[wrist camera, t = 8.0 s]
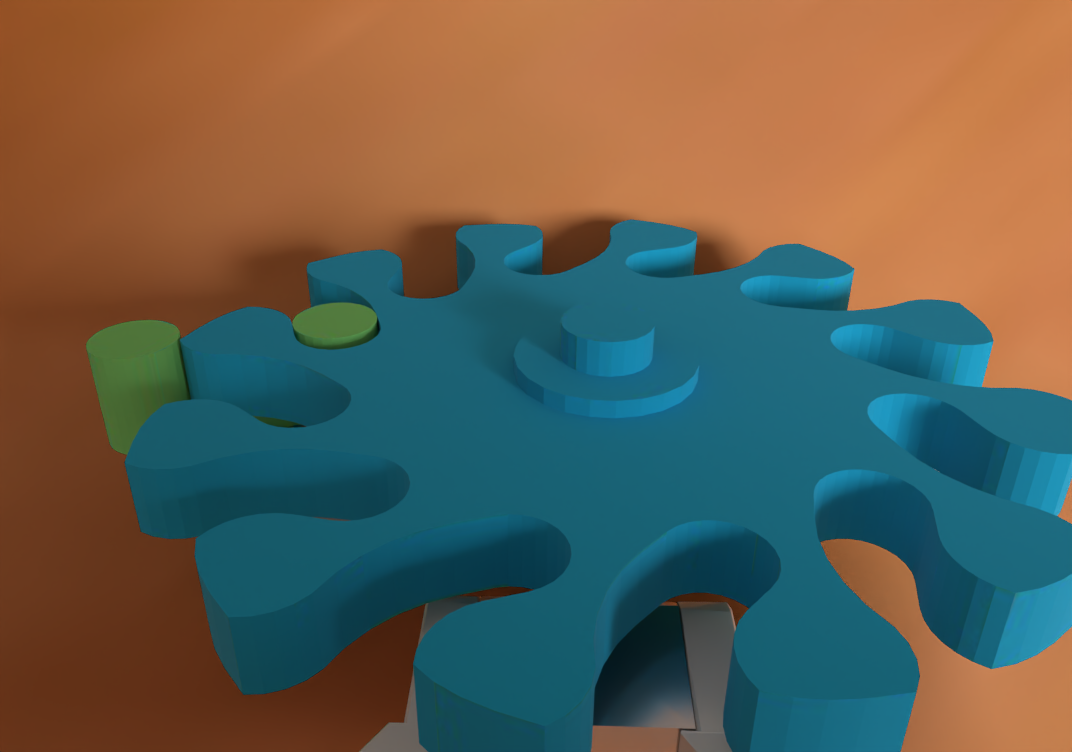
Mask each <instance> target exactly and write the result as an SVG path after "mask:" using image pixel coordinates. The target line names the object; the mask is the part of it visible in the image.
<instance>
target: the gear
mask: <svg viewBox="0 0 1072 752" xmlns="http://www.w3.org/2000/svg"><path fill="white" fill-rule="evenodd" d="M696 242H697V233H696V232H694V231H691V230H688V229H685V228H680V227H676V226H672V225H666V224H660V223H654V222H647V221H639V220H632V219H631V220H627V221H622V222H620V223H618V224H616V225H614V226H613V227H612V228H611V230H610V244H609V246H608V247H607V249H606V250H605V251H604V252H603V253H601V254H600V255H599V256H597V257H596V258H594V259H592V260H590V261H588V262H586V263H584V264H582V265H580V266H577V267H575V268H572V269H570V270H568V271H565V272H562V273H558V274H552V275H542V255H543V234H542V231H541V230H540V229H539V228H538V227H536V226H531V225H520V224H484V225H465V226H463V227H461V228H460V229H459V230H458V231H457V232H456V254H457V281H458V288H459V290H458V291H457V292H455V293H453V294H450V295H447V296H442V297H438V298H428V299H418V298H408V297H404V288H403V272H402V261H401V259H400V257H398V256H397V255H396V254H394V253H391V252H389V251H385V250H370V251H362V252H355V253H349V254H344V255H340V256H335V257H331V258H327V259H323V260H319V261H315V262H311V263H308V265H307V276H308V285H309V293H310V302H311V308H308V309H306V310H304V311H302V312H300V313H299V314H297V315H296V316H295V318H294V319H293V322H291V320H290V318H289V317H288V316H286V315H285V314H284V313H281V312H279V311H277V310H273V309H269V308H262V307H245V308H242V309H239V310H236V311H233V312H230V313H227V314H225V315H223V316H221V317H218V318H216V319H214V320H212V321H210V322H208V323H207V324H205V325H203V326H201V327H199V328H198V329H196V330H194V331H193V332H191V333H190V334H188V335H186V336H185V337H183V338H182V339H181V336H180V331H179V329H178V328H177V327H176V326H175V325H173V324H171V323H168V322H165V321H159V320H137V321H129V322H124V323H120V324H116V325H113V326H110V327H107V328H105V329H103V330H101V331H99V332H97V333H95V334H94V335H93V336H92V337H91V338H90V339H89V340H88V341H87V343H86V349H87V354H88V358H89V362H90V366H91V370H92V374H93V378H94V382H95V386H96V390H97V394H98V399H99V403H100V407H101V411H102V415H103V419H104V423H105V427H106V431H107V435H108V439H109V443H110V445H111V447H112V448H113V449H114V450H116V451H117V452H119V453H122V454H126V455H127V457H126V460H125V462H124V463H125V467H126V471H127V475H128V480H129V484H130V488H131V492H132V496H133V501H134V505H135V509H136V513H137V517H138V522H139V526H140V530H141V532H143V533H146V534H148V535H151V536H153V537H160V538H167V539H185V538H192V537H197V538H196V544H195V560H196V565H197V570H198V575H199V579H200V584H201V589H202V594H203V599H204V603H205V608H206V613H207V618H208V623H209V627H210V632H211V636H212V640H213V644H214V648H215V650H216V652H217V654H218V656H219V658H220V660H221V662H222V664H223V666H224V668H225V669H226V671H227V672H228V674H229V675H230V677H231V678H232V679H233V681H234V682H235V684H236V685H237V687H238V688H239V689H240V691H241V692H242V694H243V695H251V694H267V693H271V692H275V691H280V690H284V689H287V688H290V687H292V686H295V685H297V684H299V683H302V682H304V681H306V680H308V679H309V678H311V677H312V676H314V675H315V674H317V673H318V672H320V671H321V670H323V669H324V668H325V667H326V666H327V665H328V664H329V663H330V662H331V661H332V660H333V659H334V658H335V657H336V656H337V655H338V654H339V653H340V652H341V651H342V650H343V649H344V648H345V647H347V646H348V645H350V644H351V643H352V642H354V641H355V640H356V639H358V638H359V637H361V636H362V635H363V634H365V633H366V632H367V631H369V630H370V629H372V628H374V627H376V626H378V625H379V624H381V623H383V622H385V621H387V620H389V619H390V618H392V617H394V616H396V615H398V614H401V613H403V612H406V611H408V610H411V609H413V608H416V607H419V606H421V605H424V604H426V603H430V602H434V601H438V600H442V599H445V598H449V597H453V596H457V595H462V594H467V593H472V592H477V591H482V590H487V589H492V588H499V587H507V586H512V587H524V588H529V589H534V590H532V591H529V592H524V593H519V594H514V595H510V596H505V597H500V598H495V599H490V600H485V601H481V602H477V603H474V604H470V605H467V606H464V607H462V608H460V609H457V610H455V611H453V612H451V613H449V614H447V615H446V616H445V617H443V618H442V619H441V620H439V621H438V622H436V623H435V624H434V625H433V626H432V627H431V628H430V630H429V631H428V632H427V633H426V634H425V635H424V636H423V638H422V640H421V642H420V644H419V646H418V647H417V649H416V654H415V658H414V663H413V669H414V682H415V695H416V708H417V721H418V735H419V744H420V745H421V746H423V747H424V748H425V749H426V750H427V751H428V752H591V748H592V733H593V712H594V691H595V686H596V683H597V681H598V678H599V675H600V673H601V670H602V667H603V665H604V664H605V662H606V661H607V659H608V657H609V656H610V654H611V653H612V651H613V650H614V648H615V647H616V645H617V644H618V643H619V642H620V641H621V640H622V639H623V638H624V637H625V636H626V635H627V634H628V633H629V632H630V631H631V630H632V629H633V628H634V627H635V626H636V625H637V624H638V623H639V622H640V621H642V620H643V619H644V618H645V617H646V616H648V615H649V614H650V613H651V612H652V611H653V610H655V609H656V608H657V607H658V606H659V605H661V604H662V603H664V602H665V601H667V600H669V599H670V598H673V597H676V596H679V595H682V594H688V593H711V594H717V595H722V596H725V597H728V598H731V599H733V600H736V601H738V602H739V603H741V604H743V605H745V606H747V607H748V608H749V609H748V610H747V611H746V613H745V614H744V615H743V616H742V618H741V619H740V620H739V622H738V625H737V627H736V630H735V633H734V639H733V646H732V653H731V660H730V668H729V675H728V682H727V689H726V696H725V704H724V711H723V728H724V732H725V736H726V741H727V743H728V745H729V747H730V748H731V750H732V752H900V751H901V748H902V744H903V740H904V737H905V733H906V729H907V725H908V722H909V718H910V714H911V711H912V707H913V703H914V699H915V696H916V692H917V687H918V683H919V678H920V674H919V668H918V663H917V658H916V656H915V655H914V653H913V651H912V649H911V647H910V645H909V643H908V642H907V641H906V639H905V638H904V637H903V636H902V635H901V634H900V633H899V632H898V631H897V629H896V628H895V627H894V626H892V625H891V624H890V623H889V622H887V621H886V620H885V619H883V618H882V617H881V616H880V615H878V614H877V613H876V612H875V611H873V610H872V609H871V608H869V607H868V606H867V605H866V604H865V603H864V602H863V601H862V600H861V599H860V598H859V597H858V596H857V595H856V594H855V593H854V592H853V591H852V590H851V589H850V588H849V587H848V586H847V585H846V584H845V583H844V582H843V580H842V579H841V578H840V576H839V575H838V573H837V572H836V571H835V569H834V568H833V566H832V565H831V563H830V562H829V561H828V559H827V557H826V555H825V552H824V550H823V548H822V546H821V543H820V542H822V541H825V540H831V539H854V540H861V541H865V542H868V543H872V544H875V545H877V546H880V547H882V548H884V549H886V550H888V551H890V552H891V553H893V554H894V555H896V556H898V557H899V558H900V559H901V560H902V561H903V562H904V563H905V564H906V565H907V566H908V568H909V569H910V570H911V572H912V574H913V576H914V579H915V583H916V588H917V594H918V600H919V606H920V610H921V613H922V616H923V619H924V621H925V622H926V624H927V625H928V627H929V628H930V630H931V631H932V632H933V633H934V634H935V635H936V636H937V637H938V638H939V639H940V640H941V641H942V642H943V643H944V644H945V645H947V646H948V647H949V648H951V649H952V650H953V651H955V652H956V653H958V654H960V655H962V656H963V657H965V658H967V659H969V660H971V661H973V662H975V663H977V664H980V665H983V666H985V667H988V668H990V669H994V668H999V667H1004V666H1008V665H1013V664H1017V663H1019V662H1022V661H1024V660H1026V659H1028V658H1031V657H1033V656H1035V655H1037V654H1039V653H1040V652H1042V651H1043V650H1044V649H1046V648H1047V647H1049V646H1050V645H1052V644H1053V643H1055V642H1056V641H1057V640H1058V639H1059V638H1060V637H1061V636H1062V635H1063V634H1064V633H1065V632H1066V631H1068V630H1069V629H1070V628H1071V627H1072V524H1070V523H1069V522H1067V521H1065V520H1063V519H1061V518H1060V517H1058V516H1057V515H1058V514H1059V513H1060V511H1061V508H1062V506H1063V503H1064V500H1065V497H1066V494H1067V491H1068V488H1069V485H1070V482H1071V479H1072V401H1071V400H1069V399H1067V398H1064V397H1061V396H1057V395H1054V394H1051V393H1047V392H1042V391H1037V390H1031V389H1022V388H986V387H982V383H983V380H984V376H985V372H986V368H987V364H988V360H989V357H990V353H991V349H992V345H993V338H992V335H991V332H990V331H989V330H988V328H987V327H986V326H985V324H984V323H983V322H981V321H980V320H979V319H978V318H977V317H976V316H975V315H974V314H973V313H971V312H970V311H969V310H967V309H966V308H965V307H964V306H962V305H961V304H960V303H955V302H950V301H943V300H913V301H907V302H904V303H900V304H897V305H894V306H888V307H883V308H877V309H867V310H855V311H847V308H848V302H849V296H850V291H851V285H852V279H853V274H854V268H852V267H851V266H850V265H848V264H847V263H845V262H843V261H841V260H839V259H837V258H835V257H833V256H831V255H828V254H826V253H823V252H821V251H818V250H815V249H813V248H810V247H807V246H804V245H801V244H785V245H778V246H774V247H770V248H768V249H766V250H764V251H763V252H762V253H761V254H760V255H759V256H758V257H756V258H755V259H753V260H751V261H750V262H748V263H746V264H743V265H740V266H738V267H735V268H731V269H728V270H724V271H720V272H714V273H708V274H701V275H694V264H695V253H696ZM933 468H934V469H933ZM935 469H936V470H935ZM938 471H939V472H938ZM198 536H199V537H198Z"/></svg>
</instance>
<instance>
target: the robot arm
mask: <svg viewBox="0 0 1072 752" xmlns="http://www.w3.org/2000/svg"><path fill="white" fill-rule="evenodd" d="M495 598H500V597H498V596H481V597H474V596H453V597H449V598H445V599H442V600H438V601H434V602H430V603H426V605H425V610H424V615H423V621H422V626H421V632H420V637H419V643H418V646H419V644H420V642H421V640H422V638H423V636H424V635H425V634H426V633H427V632H428V631H429V630H430V628H431V627H432V626H433V625H434V624H435V623H436V622H438V621H439V620H441V619H442V618H443V617H445V616H446V615H447V614H449V613H451V612H453V611H455V610H457V609H460V608H462V607H464V606H467V605H470V604H474V603H477V602H481V601H485V600H490V599H495ZM735 630H736V626H735V621H734V616H733V612H732V609H731V607H730V606H729V605H728V603H727V602H677V604H676V603H675V602H664V603H662V604H661V605H659V606H658V607H657V608H656V609H655V610H653V611H652V612H651V613H650V614H649V615H648V616H646V617H645V618H644V619H643V620H642V621H640V622H639V623H638V624H637V625H636V626H635V627H634V628H633V629H632V630H631V631H630V632H629V633H628V634H627V635H626V636H625V637H624V638H623V639H622V640H621V641H620V642H619V643H618V644H617V645H616V647H615V648H614V650H613V651H612V653H611V654H610V656H609V657H608V659H607V661H606V662H605V664H604V665H603V667H602V670H601V673H600V675H599V678H598V681H597V683H596V686H595V691H594V712H593V733H592V748H591V752H732V750H731V748H730V747H729V745H728V743H727V741H726V736H725V732H724V728H723V711H724V704H725V696H726V689H727V682H728V675H729V668H730V660H731V653H732V646H733V639H734V633H735ZM359 752H428V751H427V750H426V749H425V748H424V747H423V746H421V745H420V744H419V735H418V721H417V708H416V695H415V682H414V670H413V675H412V681H411V686H410V692H409V697H408V703H407V708H406V714H405V719H404V723H390V722H389V723H388V724H387V725H386V726H385V727H384V728H382V729H381V730H380V731H379V732H378V733H377V734H376V735H375V736H374V737H373V738H372V739H371V740H370V741H369V742H368V743H367V744H366V745H365V746H364V747H363V748H362V749H361V750H360V751H359Z"/></svg>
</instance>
